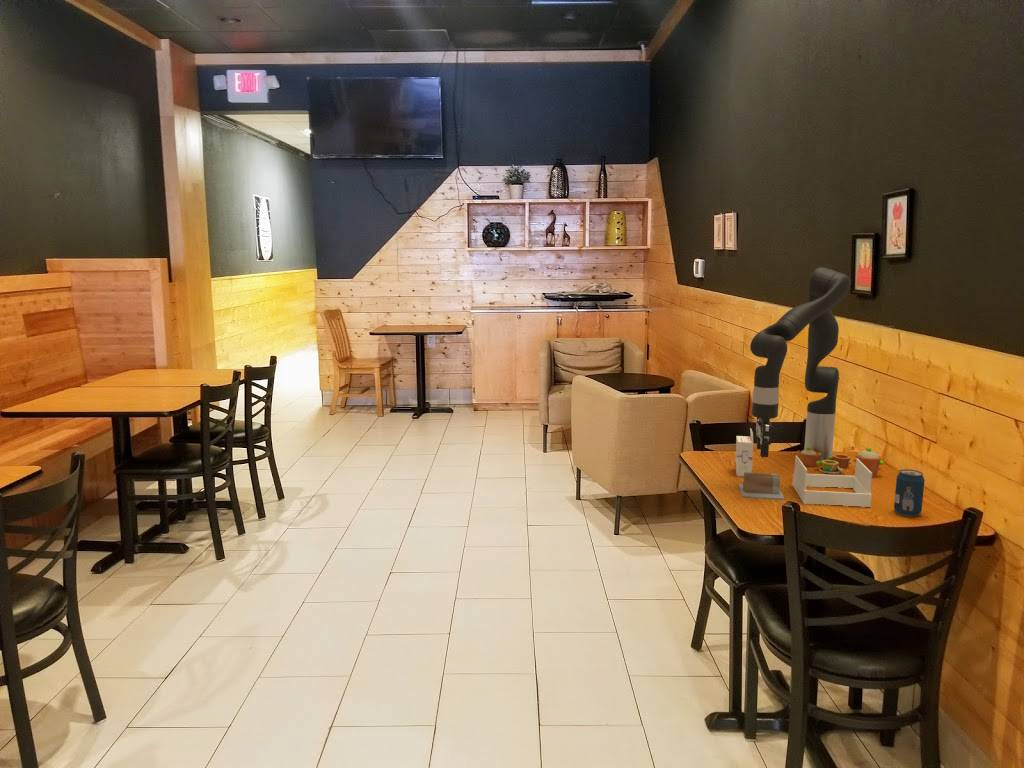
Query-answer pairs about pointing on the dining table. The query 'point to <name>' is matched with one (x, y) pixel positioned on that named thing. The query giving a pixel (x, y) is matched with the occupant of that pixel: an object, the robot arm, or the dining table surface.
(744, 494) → the mat
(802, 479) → the carton
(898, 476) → the soda can
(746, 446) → the ink cartridge box
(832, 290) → the robot arm
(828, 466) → the toy tea set
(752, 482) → the box
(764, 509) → the dining table surface
